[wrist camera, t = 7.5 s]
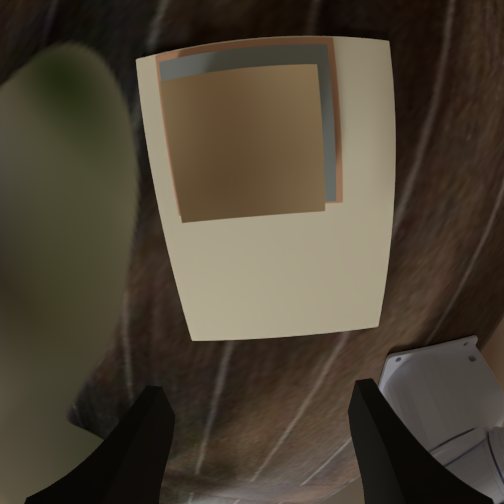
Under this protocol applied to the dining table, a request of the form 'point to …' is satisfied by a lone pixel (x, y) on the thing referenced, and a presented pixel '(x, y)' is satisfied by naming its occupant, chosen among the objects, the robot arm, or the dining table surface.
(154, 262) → the dining table surface
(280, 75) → the maple block
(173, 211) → the white flat sheet
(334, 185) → the slate slab
